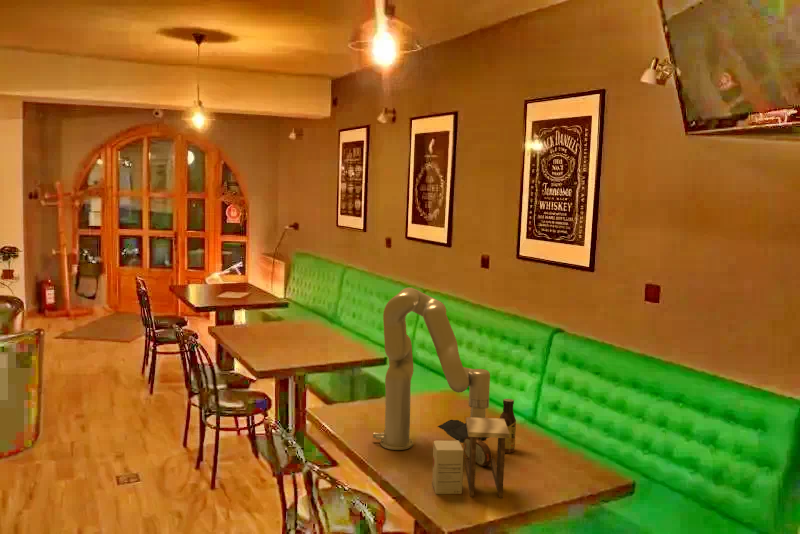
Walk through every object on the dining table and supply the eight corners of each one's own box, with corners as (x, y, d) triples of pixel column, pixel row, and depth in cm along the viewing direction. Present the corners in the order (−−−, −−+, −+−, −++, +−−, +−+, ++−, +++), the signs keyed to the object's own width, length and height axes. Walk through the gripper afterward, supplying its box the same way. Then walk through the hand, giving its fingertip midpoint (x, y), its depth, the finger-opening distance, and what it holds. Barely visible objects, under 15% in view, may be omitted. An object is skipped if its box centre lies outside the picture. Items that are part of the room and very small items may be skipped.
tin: (491, 468, 246) (492, 445, 245) (484, 470, 244) (485, 447, 243) (468, 454, 259) (469, 432, 258) (461, 455, 257) (462, 433, 256)
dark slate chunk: (461, 424, 294) (461, 413, 293) (494, 440, 275) (494, 429, 274) (431, 429, 286) (431, 418, 285) (463, 447, 267) (463, 435, 266)
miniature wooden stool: (466, 496, 222) (468, 432, 220) (461, 464, 249) (463, 406, 246) (506, 498, 221) (509, 433, 219) (497, 465, 248) (500, 407, 246)
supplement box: (431, 482, 232) (432, 439, 230) (457, 482, 232) (459, 439, 231) (435, 494, 223) (436, 449, 221) (462, 494, 223) (464, 449, 222)
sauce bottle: (514, 454, 259) (516, 403, 257) (497, 453, 260) (499, 401, 258) (514, 448, 266) (517, 398, 263) (498, 446, 267) (500, 397, 265)
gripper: (467, 396, 266) (465, 441, 268) (470, 408, 251) (468, 456, 253) (486, 396, 266) (485, 442, 268) (490, 408, 251) (488, 457, 253)
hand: (476, 449), depth 261 cm, fingers closed
